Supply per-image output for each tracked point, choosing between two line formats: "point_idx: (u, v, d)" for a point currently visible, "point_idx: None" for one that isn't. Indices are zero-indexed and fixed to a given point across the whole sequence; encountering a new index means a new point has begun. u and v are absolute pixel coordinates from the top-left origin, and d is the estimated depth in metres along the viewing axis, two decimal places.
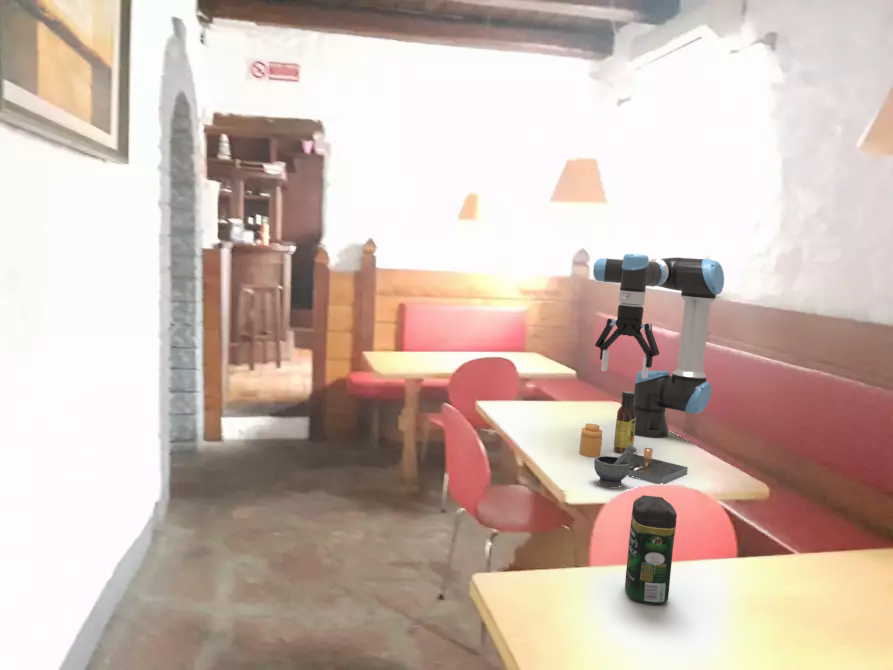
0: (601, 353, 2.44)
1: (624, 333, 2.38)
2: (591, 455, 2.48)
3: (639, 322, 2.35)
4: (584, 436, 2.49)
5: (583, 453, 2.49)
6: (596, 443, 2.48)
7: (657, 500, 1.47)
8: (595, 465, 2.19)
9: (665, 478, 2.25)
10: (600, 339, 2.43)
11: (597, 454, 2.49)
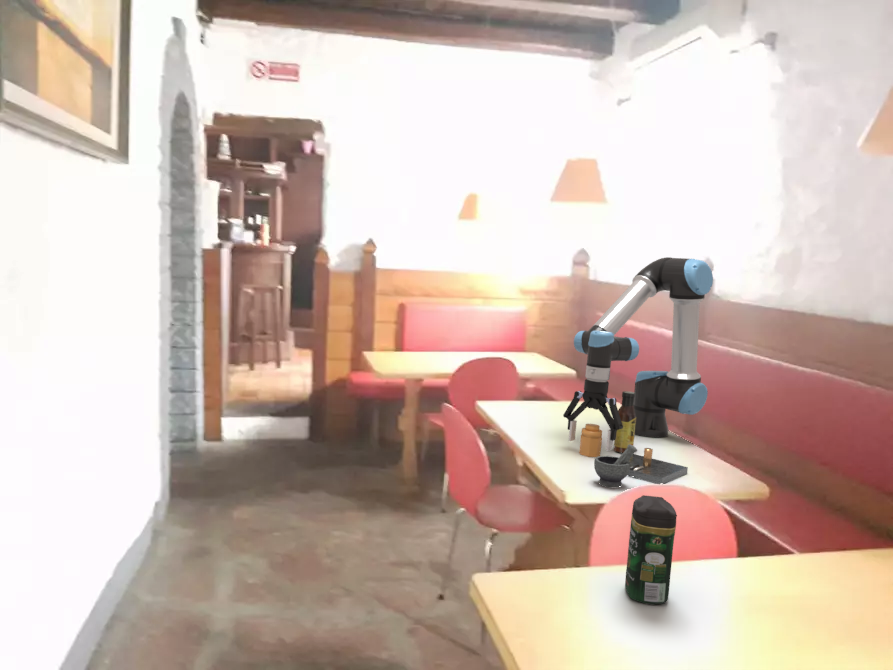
0: (569, 424, 2.55)
1: (590, 406, 2.49)
2: (591, 455, 2.48)
3: (604, 396, 2.46)
4: (584, 436, 2.49)
5: (583, 453, 2.49)
6: (596, 443, 2.48)
7: (657, 500, 1.47)
8: (595, 465, 2.19)
9: (665, 478, 2.25)
10: (568, 410, 2.54)
11: (597, 454, 2.49)
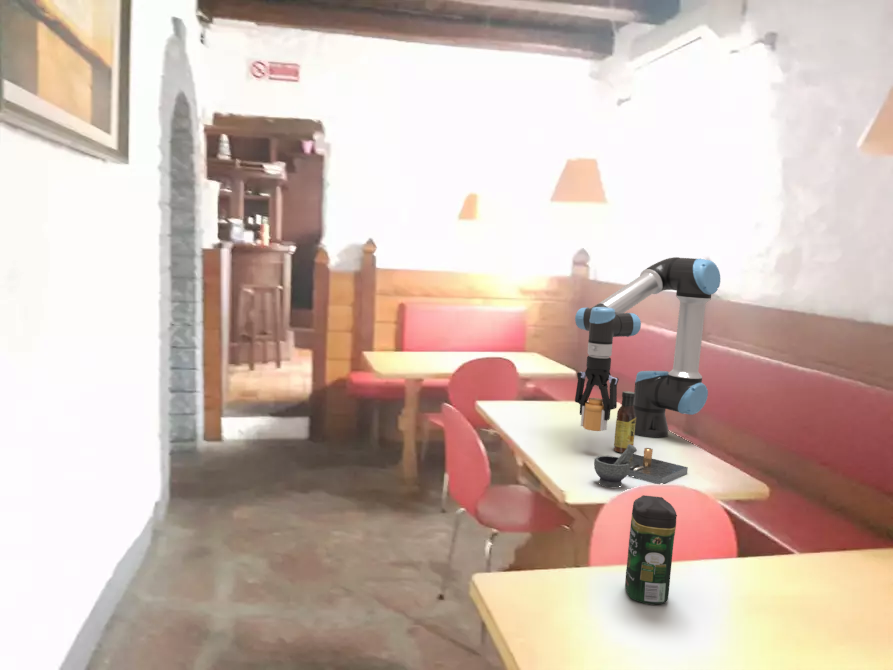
0: (581, 408, 2.52)
1: (593, 383, 2.49)
2: (595, 429, 2.48)
3: (607, 373, 2.45)
4: (588, 410, 2.48)
5: (587, 427, 2.49)
6: (600, 417, 2.47)
7: (657, 500, 1.47)
8: (595, 465, 2.19)
9: (665, 478, 2.25)
10: (577, 394, 2.52)
11: None
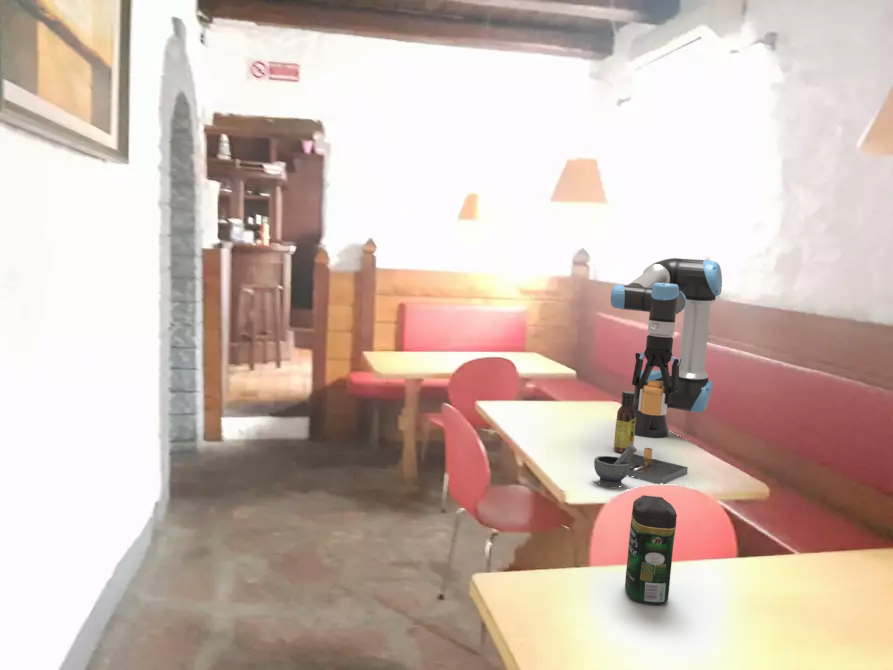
0: (638, 392, 2.35)
1: (653, 364, 2.32)
2: (654, 413, 2.31)
3: (669, 353, 2.29)
4: (647, 393, 2.31)
5: (645, 411, 2.32)
6: (660, 400, 2.30)
7: (657, 500, 1.47)
8: (595, 465, 2.19)
9: (665, 478, 2.25)
10: (635, 376, 2.35)
11: None
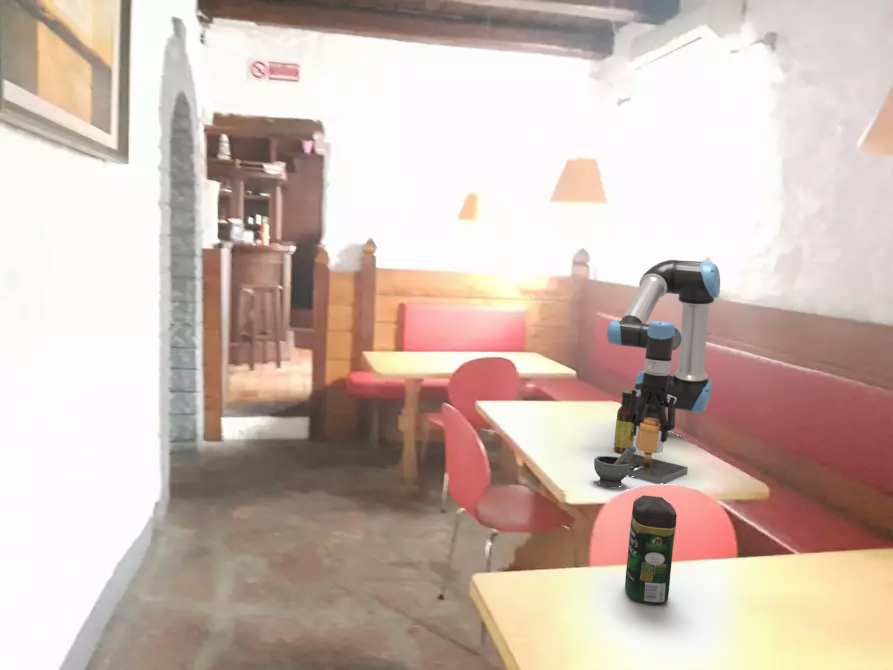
0: (635, 429, 2.37)
1: (649, 402, 2.33)
2: (651, 451, 2.32)
3: (665, 391, 2.30)
4: (643, 431, 2.32)
5: (642, 449, 2.33)
6: (656, 438, 2.32)
7: (657, 500, 1.47)
8: (595, 465, 2.19)
9: (665, 478, 2.25)
10: (631, 413, 2.37)
11: None
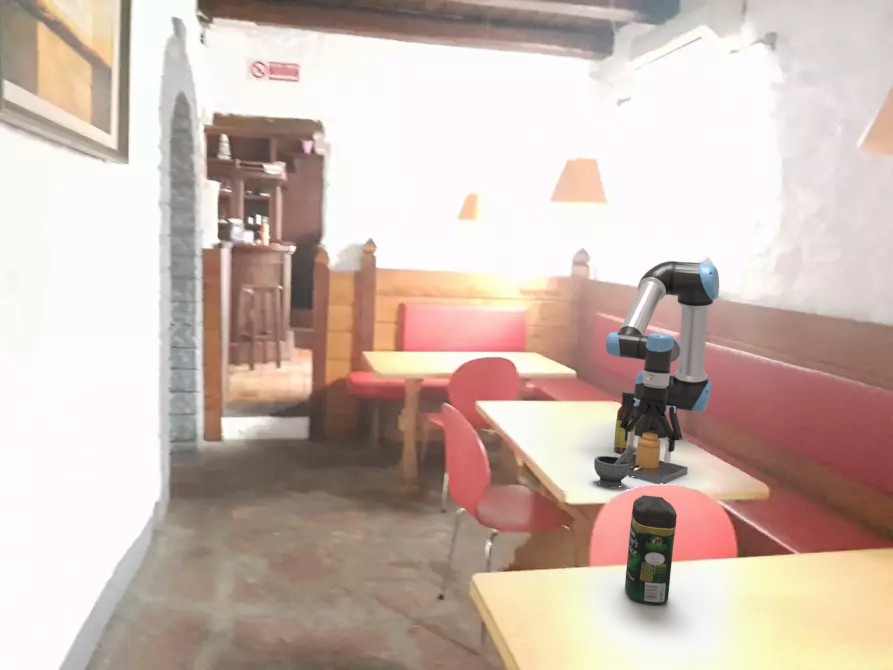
0: (626, 434, 2.39)
1: (648, 414, 2.33)
2: (649, 466, 2.33)
3: (664, 404, 2.30)
4: (641, 446, 2.33)
5: (640, 464, 2.34)
6: (654, 453, 2.32)
7: (657, 500, 1.47)
8: (595, 465, 2.19)
9: (665, 478, 2.25)
10: (625, 420, 2.38)
11: (655, 465, 2.33)
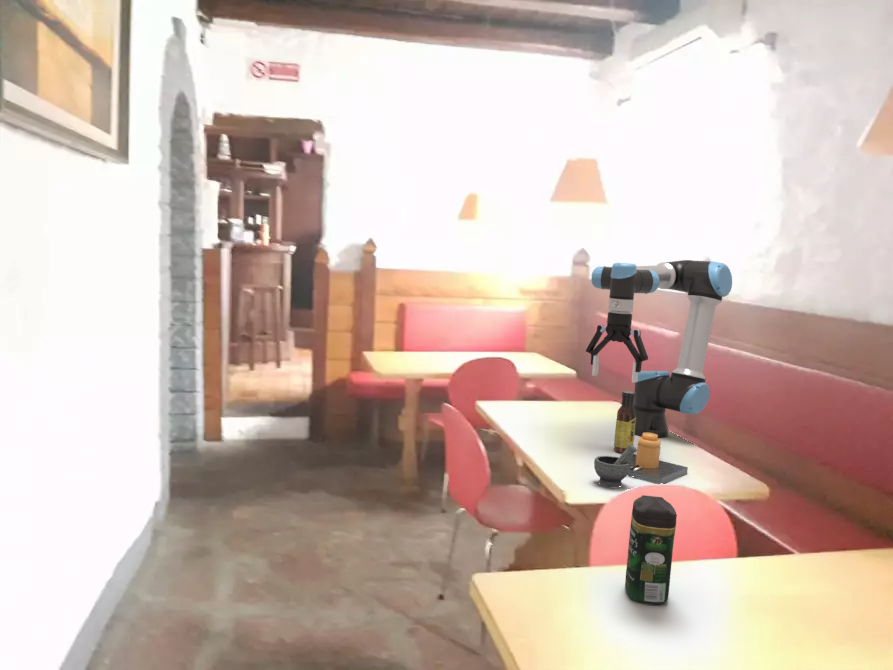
0: (592, 358, 2.53)
1: (614, 339, 2.47)
2: (649, 466, 2.33)
3: (628, 328, 2.44)
4: (641, 446, 2.33)
5: (640, 464, 2.34)
6: (654, 453, 2.32)
7: (657, 500, 1.47)
8: (595, 465, 2.19)
9: (665, 478, 2.25)
10: (590, 345, 2.52)
11: (655, 465, 2.33)
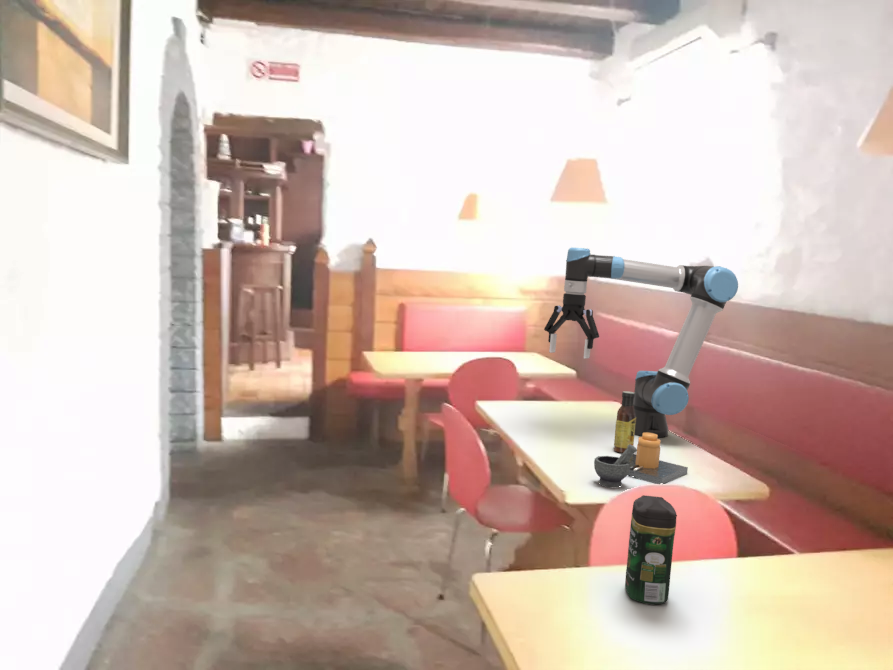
0: (549, 336, 2.73)
1: (569, 318, 2.67)
2: (649, 466, 2.33)
3: (581, 308, 2.64)
4: (641, 446, 2.33)
5: (640, 464, 2.34)
6: (654, 453, 2.32)
7: (657, 500, 1.47)
8: (595, 465, 2.19)
9: (665, 478, 2.25)
10: (548, 324, 2.72)
11: (655, 465, 2.33)
